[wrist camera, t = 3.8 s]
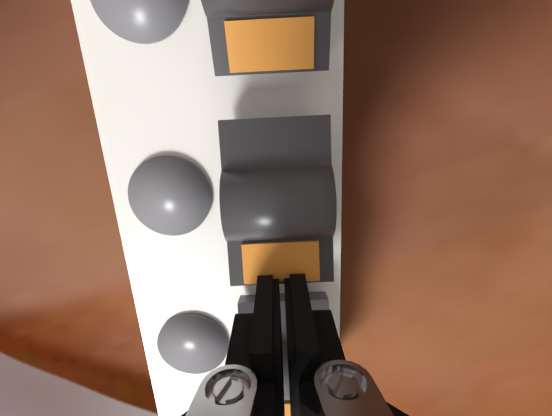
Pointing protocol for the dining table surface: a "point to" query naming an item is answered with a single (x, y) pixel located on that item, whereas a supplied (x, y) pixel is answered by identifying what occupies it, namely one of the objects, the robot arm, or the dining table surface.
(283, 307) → the switch
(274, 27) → the switch
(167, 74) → the power strip
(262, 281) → the robot arm
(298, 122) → the switch middle
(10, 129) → the dining table surface
